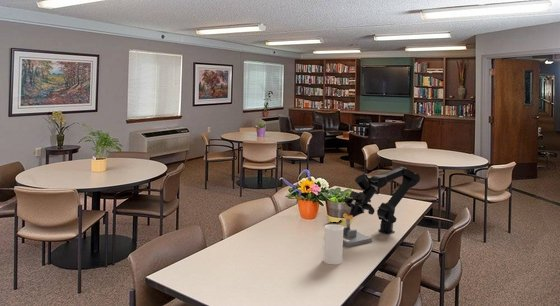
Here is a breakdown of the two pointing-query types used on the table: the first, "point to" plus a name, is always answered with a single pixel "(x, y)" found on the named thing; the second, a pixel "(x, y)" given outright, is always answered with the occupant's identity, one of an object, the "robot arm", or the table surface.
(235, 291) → the table surface
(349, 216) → the lever
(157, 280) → the table surface
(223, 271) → the table surface
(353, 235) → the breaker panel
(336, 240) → the cup
